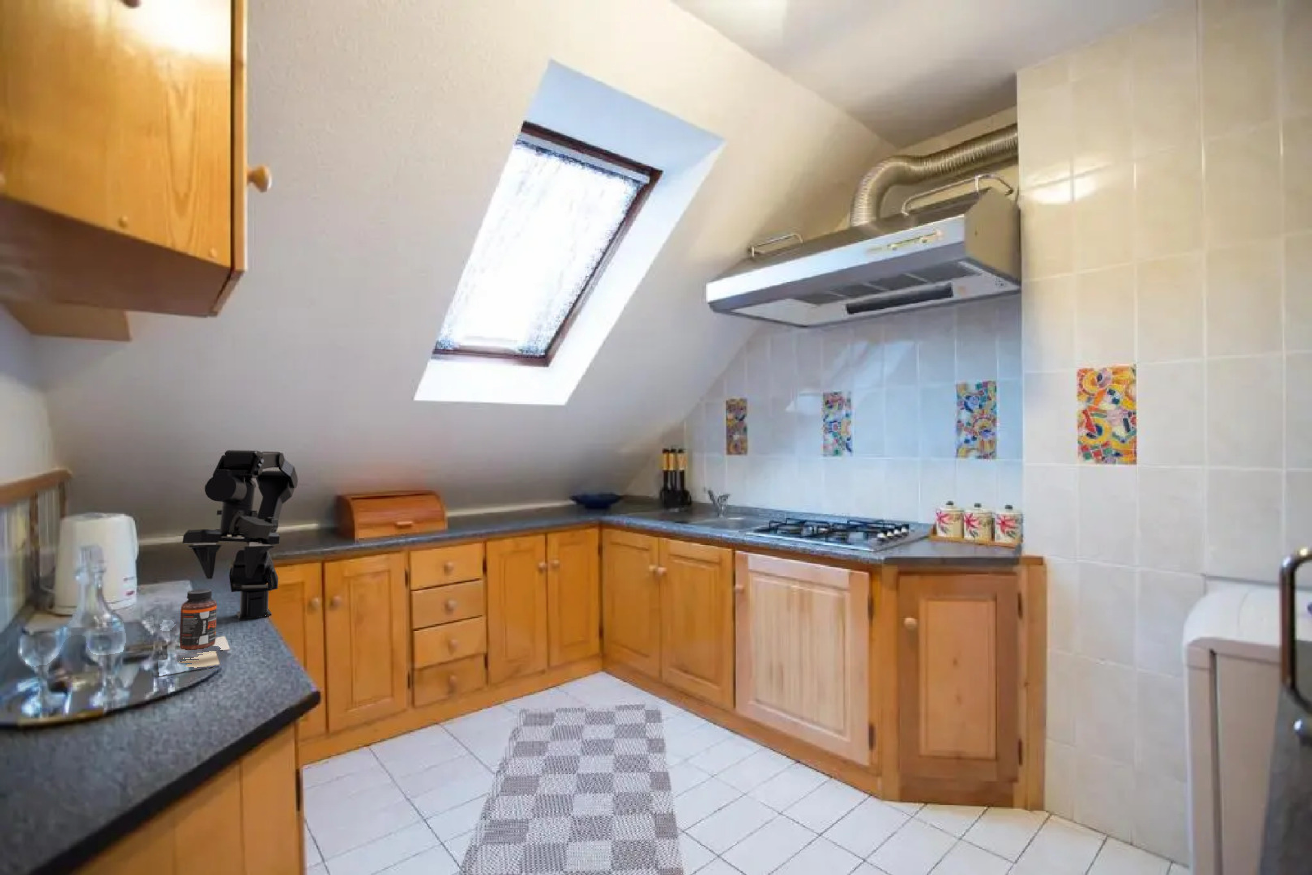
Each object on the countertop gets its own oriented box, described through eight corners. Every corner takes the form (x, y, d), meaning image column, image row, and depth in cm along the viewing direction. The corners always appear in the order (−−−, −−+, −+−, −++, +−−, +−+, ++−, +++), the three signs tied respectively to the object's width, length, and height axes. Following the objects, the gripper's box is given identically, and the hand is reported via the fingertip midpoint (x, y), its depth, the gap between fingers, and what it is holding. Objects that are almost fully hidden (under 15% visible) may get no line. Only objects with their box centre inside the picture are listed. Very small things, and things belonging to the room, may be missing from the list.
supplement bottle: (213, 648, 127) (215, 592, 127) (177, 653, 124) (178, 595, 124) (217, 640, 132) (218, 586, 132) (181, 644, 129) (183, 588, 129)
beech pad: (157, 662, 119) (157, 659, 119) (215, 653, 125) (215, 650, 125) (158, 676, 112) (158, 673, 112) (219, 666, 118) (219, 663, 118)
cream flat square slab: (165, 645, 129) (165, 644, 129) (225, 636, 135) (225, 635, 135) (167, 659, 121) (167, 658, 121) (230, 649, 127) (230, 648, 127)
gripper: (226, 500, 129) (217, 579, 126) (301, 507, 146) (295, 576, 143) (185, 503, 132) (175, 579, 129) (263, 509, 149) (257, 577, 146)
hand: (229, 578), depth 137 cm, fingers open, 9 cm apart
